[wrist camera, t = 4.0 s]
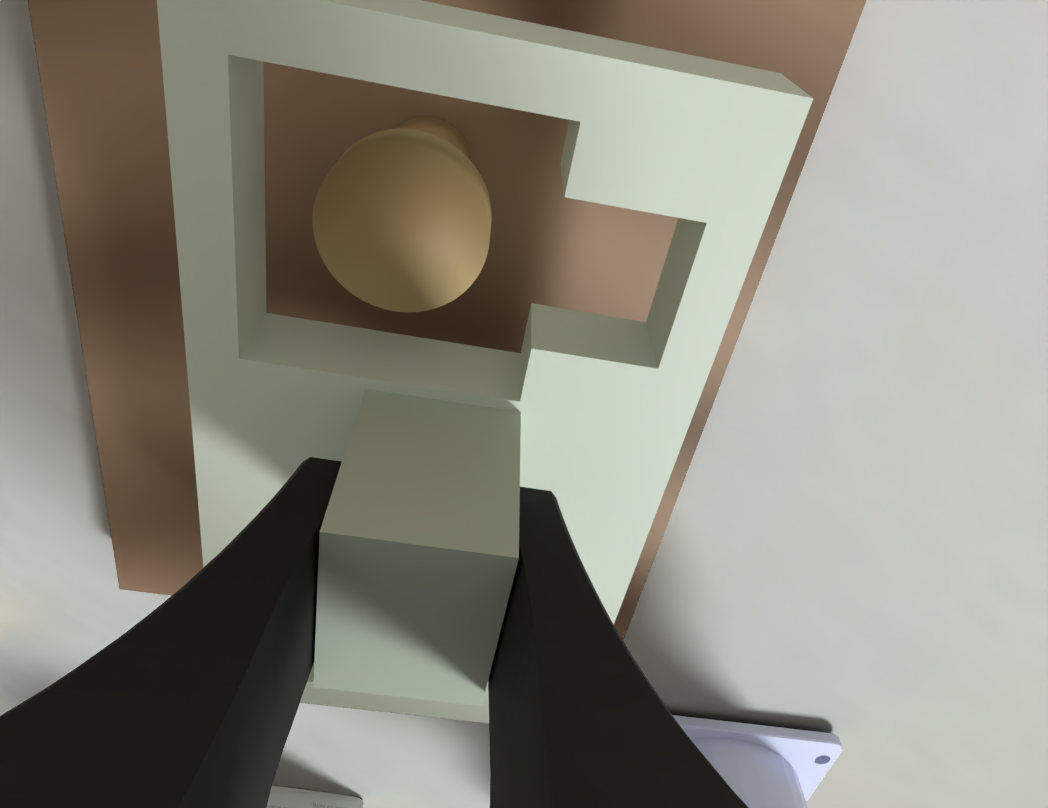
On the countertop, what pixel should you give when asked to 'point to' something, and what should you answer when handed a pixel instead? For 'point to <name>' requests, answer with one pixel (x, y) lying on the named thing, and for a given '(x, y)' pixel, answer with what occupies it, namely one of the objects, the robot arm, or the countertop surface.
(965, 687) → the countertop surface
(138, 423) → the board
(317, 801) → the skincare box
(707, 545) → the countertop surface
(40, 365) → the countertop surface
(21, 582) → the countertop surface
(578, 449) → the panel
